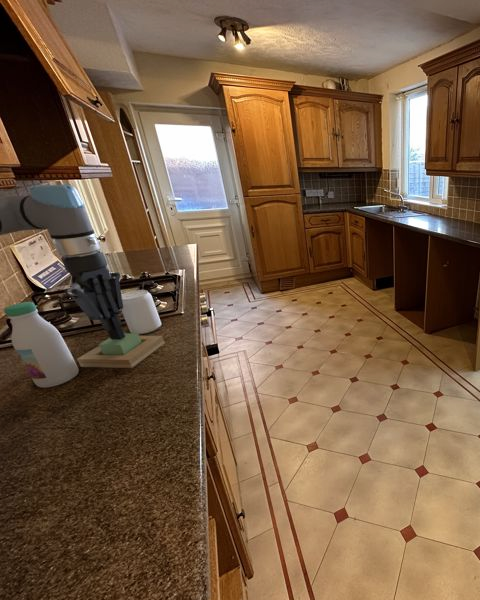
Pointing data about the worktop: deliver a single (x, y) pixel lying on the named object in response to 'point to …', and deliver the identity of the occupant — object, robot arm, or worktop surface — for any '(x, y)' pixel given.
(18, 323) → the milk bottle
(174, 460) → the worktop surface
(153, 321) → the white cylindrical container
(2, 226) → the robot arm
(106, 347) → the green block
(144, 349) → the base pad
